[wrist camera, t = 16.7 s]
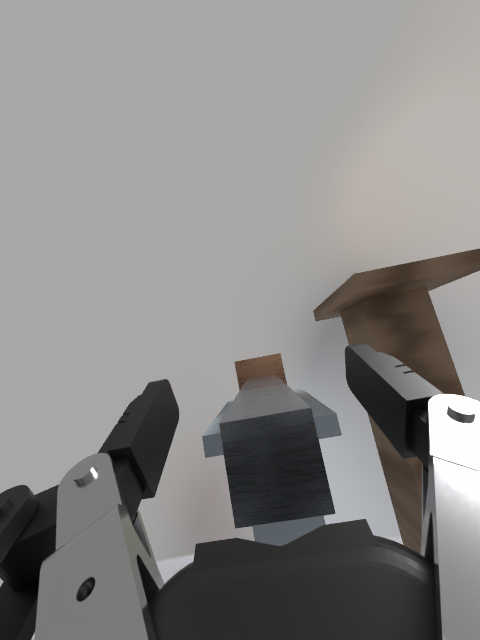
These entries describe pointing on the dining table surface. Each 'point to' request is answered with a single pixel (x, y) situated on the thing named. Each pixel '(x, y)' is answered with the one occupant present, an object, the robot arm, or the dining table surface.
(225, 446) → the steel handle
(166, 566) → the dining table surface
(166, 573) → the dining table surface
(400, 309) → the tall walnut post
